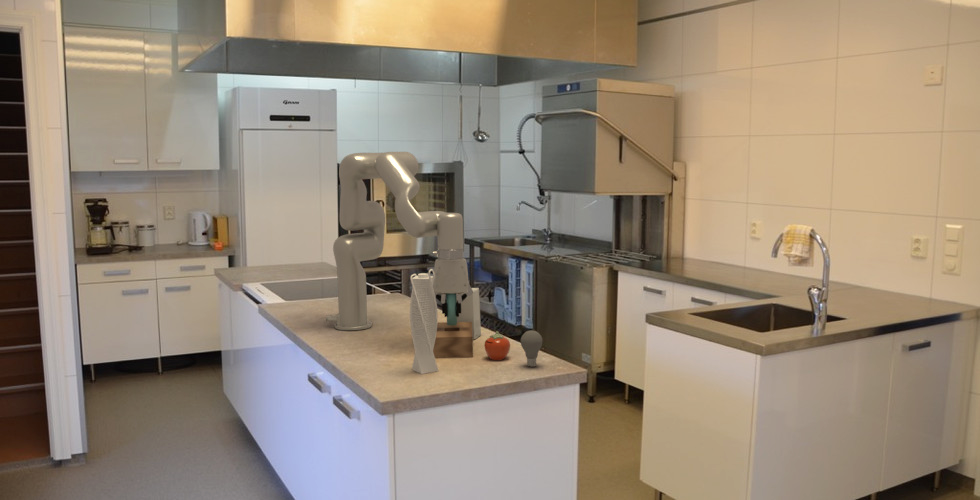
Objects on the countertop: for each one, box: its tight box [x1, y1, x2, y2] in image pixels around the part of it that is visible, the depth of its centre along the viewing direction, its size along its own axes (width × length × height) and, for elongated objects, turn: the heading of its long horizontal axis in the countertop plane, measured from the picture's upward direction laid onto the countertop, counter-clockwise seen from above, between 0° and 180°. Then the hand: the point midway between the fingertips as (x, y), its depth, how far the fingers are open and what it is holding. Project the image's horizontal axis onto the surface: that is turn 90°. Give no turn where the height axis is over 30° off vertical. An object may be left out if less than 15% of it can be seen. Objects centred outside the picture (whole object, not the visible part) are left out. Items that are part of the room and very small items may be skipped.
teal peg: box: [445, 294, 457, 325], centre depth 235 cm, size 3×3×10 cm
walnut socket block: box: [433, 321, 474, 359], centre depth 237 cm, size 12×20×6 cm, turn 2°
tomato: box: [483, 330, 511, 361], centre depth 225 cm, size 7×7×8 cm
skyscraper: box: [409, 268, 439, 375], centre depth 212 cm, size 8×8×28 cm
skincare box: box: [456, 287, 482, 340], centre depth 251 cm, size 8×7×16 cm
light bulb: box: [520, 329, 543, 368], centre depth 216 cm, size 6×6×10 cm
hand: (451, 315), depth 236 cm, fingers closed on teal peg, 3 cm apart
